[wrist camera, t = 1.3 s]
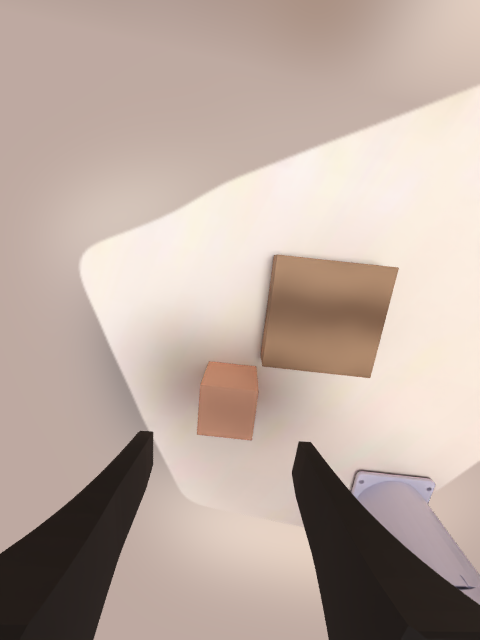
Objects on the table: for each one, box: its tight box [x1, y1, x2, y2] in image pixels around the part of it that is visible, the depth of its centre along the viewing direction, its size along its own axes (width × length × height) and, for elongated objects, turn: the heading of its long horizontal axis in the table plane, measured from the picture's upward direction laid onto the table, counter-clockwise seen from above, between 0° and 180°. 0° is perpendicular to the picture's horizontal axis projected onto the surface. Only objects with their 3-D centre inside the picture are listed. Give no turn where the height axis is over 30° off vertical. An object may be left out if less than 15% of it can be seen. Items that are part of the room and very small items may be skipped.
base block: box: [261, 255, 399, 378], centre depth 20 cm, size 9×9×2 cm
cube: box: [197, 361, 258, 440], centre depth 21 cm, size 4×4×4 cm
